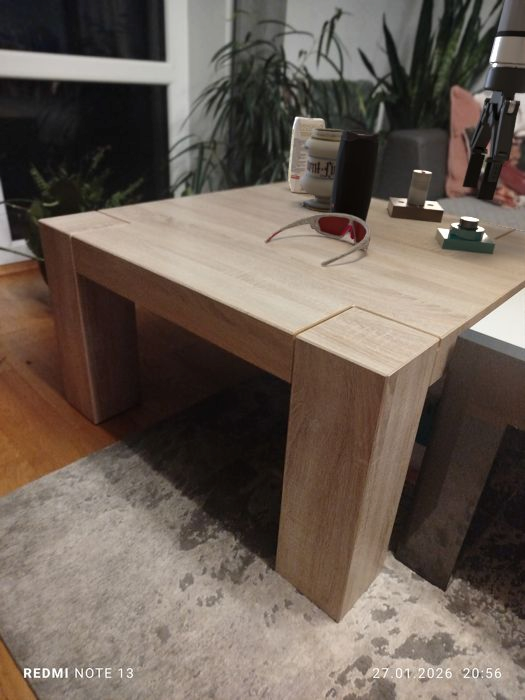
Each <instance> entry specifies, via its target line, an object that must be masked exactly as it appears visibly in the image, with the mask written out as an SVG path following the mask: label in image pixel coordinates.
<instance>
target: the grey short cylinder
mask: <svg viewBox="0 0 525 700" xmlns="http://www.w3.org/2000/svg"><path fill="white" fill-rule="evenodd" d="M458 223H459V226H458V227H460V228H463V229H467V230H477V227H478V226H479V223H480V219H478V218H475V217H471V216H461V217H460V219H459V222H458Z"/></svg>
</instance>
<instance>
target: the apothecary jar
mask: <svg viewBox="0 0 525 700" xmlns="http://www.w3.org/2000/svg"><path fill="white" fill-rule="evenodd" d="M343 130H344V129H337V128H326V127H325V128H317V129H313V132H312V135H311V138H309V139H308V140H307V141H306V142H305V145H304V149H305V151H306V152H307V153H308V162H307V171H306V174H305V175H304V176H303V177H302V178H301V182H300V183H301V187H302V188H303V190H304V191H306V192H307V193H306V194H309V195H310V196H314V198H310V199H308V200H305V201H303V202H302V206H303V207H305V208H306V209H308V210H312V211H318V212H324V213H330V208H331V193H332V186H333V179H334V172H335V165H336V158H337V153H338V149H339V144H340V140H341V135H342V131H343Z"/></svg>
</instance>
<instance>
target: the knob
mask: <svg viewBox="0 0 525 700" xmlns="http://www.w3.org/2000/svg"><path fill="white" fill-rule="evenodd" d="M432 175H433V172H431V171H428V170H424V169H423V170H421V169H414V170H412V176H411V179H410V184H409V188H408V189H409V191H408V194H407V198H406V199H407V203H409V204H413V205H425V202H426V201H427V196H428V193H429V188H430V184H431V179H432Z"/></svg>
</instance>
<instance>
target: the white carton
mask: <svg viewBox="0 0 525 700" xmlns="http://www.w3.org/2000/svg"><path fill="white" fill-rule="evenodd" d="M317 128H325V129H326V121H325V120H324V119H323V118H320V117H319V118H317V117H316V118H315V117H313V118H312V117H303V116H295V117H294V121H293V125H292V131H291V141H290V142H291V143H290V152H289V163H288V172H287V173H288V176H287V181H288V186H289V189H290V192H291V193H298V194H299V193H300V194H308V193H307V192H306V191H304V190H303V188H302V187H301V183H300V182H301V178H302V177H303V176H304V175H305V174H306V171H307V162H308V153H307V152H306V151H305V149H304V145H305V142H306V141H307V140H308V139H309V138H311V135H312V132H313V129H317Z"/></svg>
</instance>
